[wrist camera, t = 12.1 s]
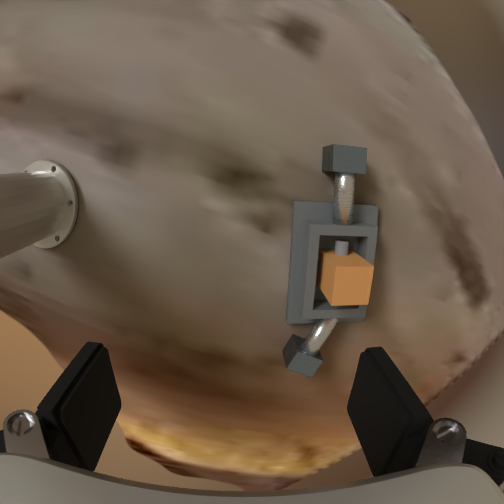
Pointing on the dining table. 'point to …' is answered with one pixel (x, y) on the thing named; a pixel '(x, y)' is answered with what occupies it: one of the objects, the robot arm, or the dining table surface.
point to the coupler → (344, 276)
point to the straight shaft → (344, 178)
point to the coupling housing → (307, 255)
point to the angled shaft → (308, 348)
